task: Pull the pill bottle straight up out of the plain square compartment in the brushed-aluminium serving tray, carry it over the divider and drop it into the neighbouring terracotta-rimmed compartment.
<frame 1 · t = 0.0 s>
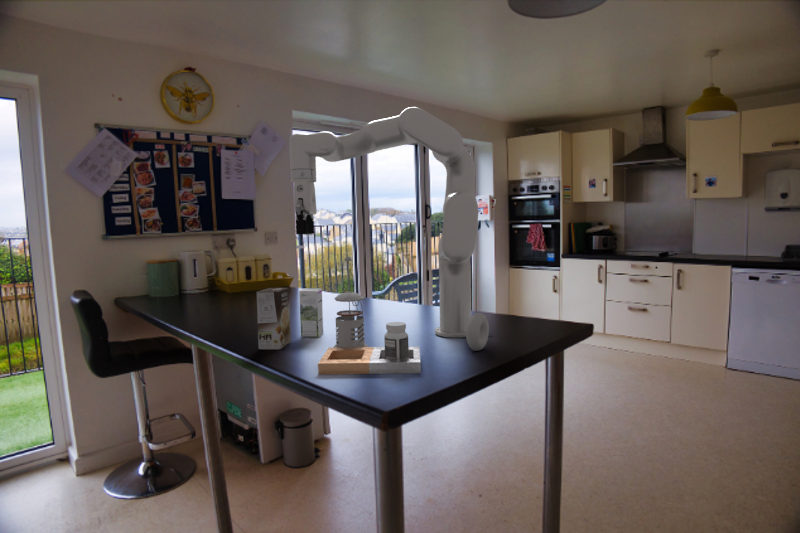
hand: (305, 234, 143), 31 cm above the table, tool pointing down, fingers open, 9 cm apart
pill bottle: (396, 365, 113), resting in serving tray
donut: (478, 351, 124), on the table
syrup box: (312, 336, 145), on the table
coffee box: (275, 346, 133), on the table
french press: (352, 347, 131), on the table
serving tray: (371, 364, 113), on the table
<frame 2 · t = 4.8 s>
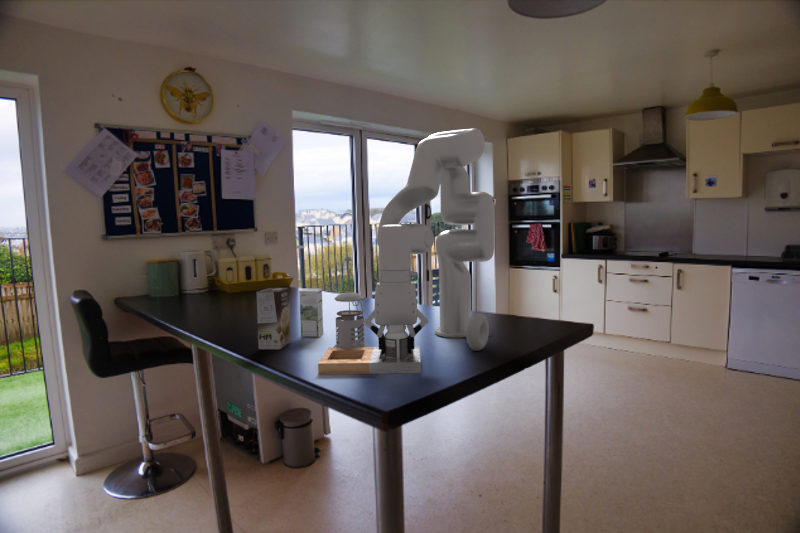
hand: (396, 351, 112), 3 cm above the table, tool pointing down, fingers closed on pill bottle, 5 cm apart
pill bottle: (396, 365, 113), resting in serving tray, touching gripper
everything else where it was.
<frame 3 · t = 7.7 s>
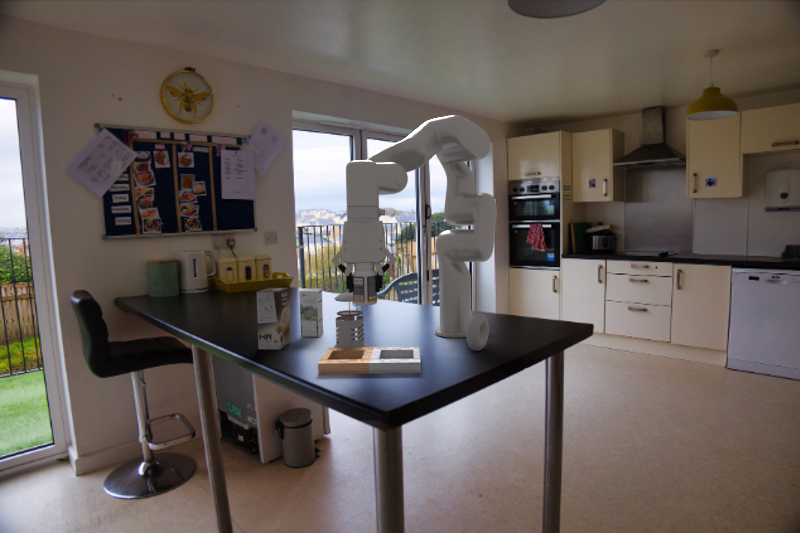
hand: (364, 291, 111), 18 cm above the table, tool pointing down, fingers closed on pill bottle, 5 cm apart
pill bottle: (365, 305, 111), point 14 cm above the table, touching gripper
everything else where it was.
when the fingers open (4 cm above the table, at t = 10.8 s): pill bottle drops 1 cm, resting in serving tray.
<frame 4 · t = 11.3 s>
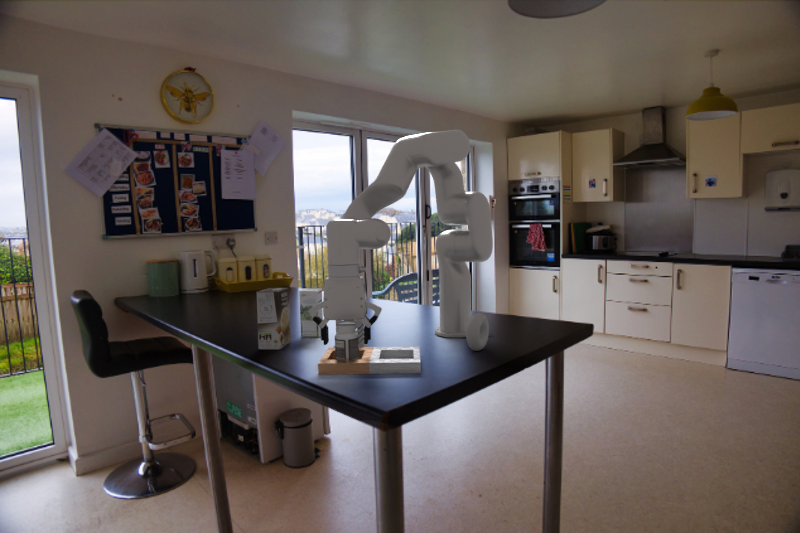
hand: (346, 343, 113), 5 cm above the table, tool pointing down, fingers open, 9 cm apart
pill bottle: (347, 365, 113), resting in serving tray
everything else where it was.
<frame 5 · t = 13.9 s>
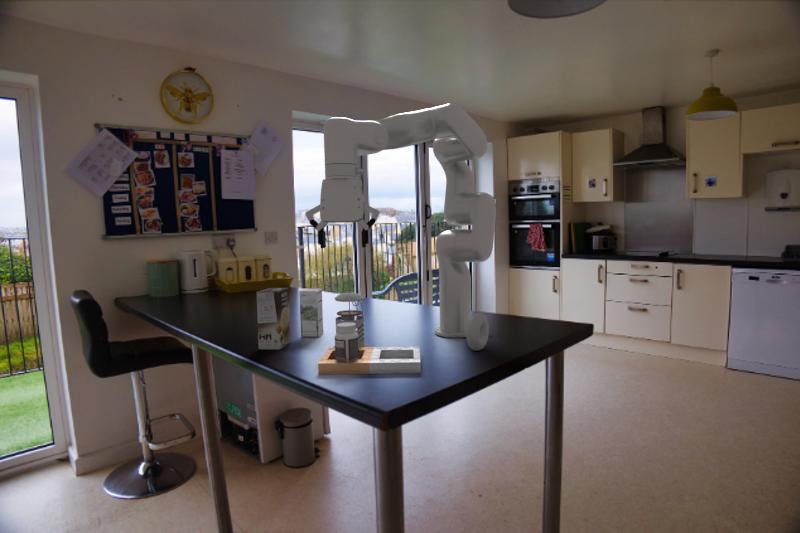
hand: (343, 247, 111), 28 cm above the table, tool pointing down, fingers open, 9 cm apart
nothing on the table moved.
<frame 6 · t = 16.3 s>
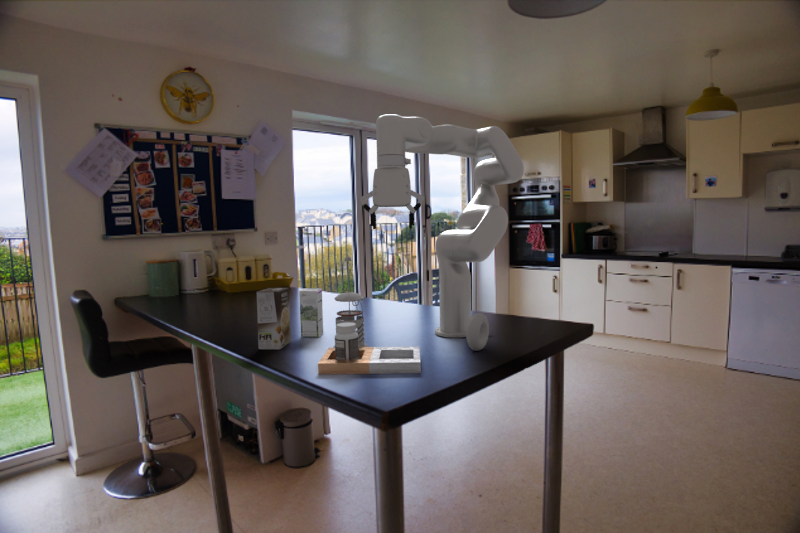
hand: (392, 228, 126), 32 cm above the table, tool pointing down, fingers open, 9 cm apart
nothing on the table moved.
at the end: pill bottle 0.1 cm from the target spot on the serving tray, point 0.0 cm above the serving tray's base; pill bottle tilted 0°; the gripper is holding nothing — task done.
